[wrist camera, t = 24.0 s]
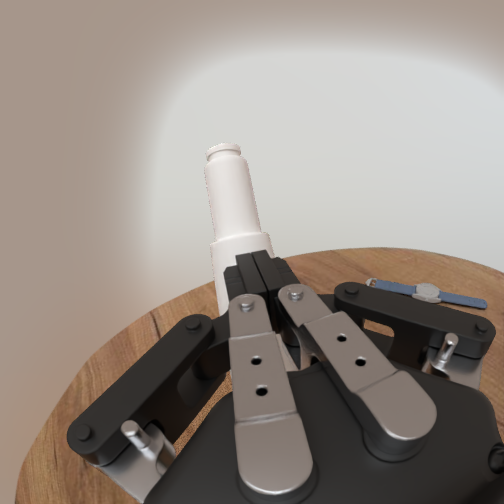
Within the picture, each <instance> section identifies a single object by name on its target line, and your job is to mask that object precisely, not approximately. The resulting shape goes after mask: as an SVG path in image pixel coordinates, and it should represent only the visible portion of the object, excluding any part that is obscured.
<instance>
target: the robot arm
mask: <svg viewBox="0 0 504 504" xmlns="http://www.w3.org/2000/svg"><path fill="white" fill-rule="evenodd" d="M235 259H236V265H234V266H229V267H226V269H225V271H224V272H223V275H224V280H225V285H226V290H227V295H228V300H229V305H228V310H227V311H226V312H225V313H224V314H223V315H221V316H220V317H218V318H216V319H213V320H211V318H210V317H208V316H206V315H202V314H194V315H190V316H187V317H185V318H183V319H181V320H180V321H179V322H178V323H177V324H176V325H175V326H174V327H173V328H172V329H171V330H170V331H169V332H167V333H166V334H165V335H164V336H163V337H162V338H161V339H160V340H159V341H158V342H157V343H156V344H155V345H154V346H153V347H152V348H151V349H150V350H148V351H147V352H146V353H145V354H144V355H143V356H142V357H141V358H140V359H139V360H138V361H137V362H136V363H135V364H134V365H133V366H132V367H131V368H129V369H128V370H127V371H126V372H125V373H124V374H123V375H122V376H121V377H120V378H119V379H118V380H117V381H116V382H115V383H114V384H113V385H111V386H110V387H109V388H108V389H107V390H106V391H105V392H104V393H103V394H102V395H101V396H100V397H99V398H98V399H97V400H96V401H95V402H94V403H92V404H91V405H90V406H89V407H88V408H87V409H86V410H85V411H84V412H83V413H82V414H81V415H80V416H79V417H78V418H77V419H76V420H74V421H73V423H72V424H71V425H70V426H69V428H68V431H67V442H68V444H69V446H70V448H71V449H72V450H73V451H75V452H76V453H77V454H79V455H80V456H81V457H82V458H84V459H85V460H86V461H87V462H88V463H89V464H90V465H92V466H93V467H94V468H96V469H97V470H99V471H100V472H102V473H103V474H105V475H106V476H108V477H110V478H111V479H112V480H113V481H114V482H115V483H116V484H117V485H119V486H120V487H121V488H122V489H123V490H125V491H126V492H127V493H128V494H129V495H131V496H132V497H133V498H134V499H136V500H137V501H138V502H140V503H141V504H504V444H503V442H502V440H501V437H500V434H499V431H498V428H497V423H496V418H495V412H494V409H493V406H492V404H491V402H490V401H489V399H488V398H487V397H486V396H485V395H484V394H483V393H482V392H480V391H479V386H480V379H481V371H482V362H483V358H484V356H485V355H486V353H487V351H488V349H489V347H490V345H491V343H492V341H493V339H494V337H495V335H496V330H495V327H494V325H493V324H492V323H491V322H490V321H489V320H488V319H486V318H484V317H481V316H477V315H473V314H470V313H466V312H462V311H459V310H455V309H451V308H448V307H444V306H440V305H437V304H433V303H429V302H426V301H422V300H418V299H415V298H411V297H408V296H404V295H400V294H397V293H393V292H389V291H386V290H382V289H378V288H375V287H371V286H368V285H364V284H360V283H356V282H345V283H341V284H339V285H338V286H337V287H336V288H335V290H334V294H325V295H320V294H316V293H315V292H314V291H313V290H312V289H311V288H310V287H309V286H307V285H303V284H301V283H300V282H299V280H298V279H297V277H296V276H295V275H294V273H293V272H292V270H291V269H290V267H289V266H288V264H287V263H286V261H285V260H283V259H281V258H279V257H276V258H270V256H269V254H268V252H267V251H266V249H265V250H260V251H255V252H251V253H244V254H239V255H235ZM365 319H367V320H370V321H373V322H376V323H380V324H383V325H386V326H389V327H390V328H392V329H393V331H394V337H389V336H386V335H383V334H380V333H377V332H374V331H371V330H368V329H365V328H364V322H365ZM276 334H280V336H281V341H282V348H283V350H284V352H285V354H286V355H287V357H288V359H289V361H290V363H291V365H292V367H293V369H294V370H295V371H286V369H285V365H284V362H283V358H282V354H281V351H280V347H279V344H278V340H277V336H276ZM230 370H231V378H232V390H233V391H232V392H230V393H228V394H227V395H225V396H224V397H223V398H222V399H220V400H219V401H218V402H217V403H216V404H215V405H214V407H213V408H212V409H211V410H210V412H209V413H208V415H207V416H206V418H205V419H204V420H203V422H202V423H201V425H200V426H199V427H198V429H197V430H196V432H195V433H194V434H193V436H192V437H191V438H190V440H189V441H188V443H187V444H186V445H185V447H184V448H183V449H182V451H181V452H180V453H179V455H178V456H177V457H176V459H175V456H176V452H175V448H174V446H173V444H174V443H175V442H176V440H177V439H178V438H179V437H180V436H181V434H182V433H183V432H184V431H185V429H186V428H187V427H188V426H189V424H190V423H191V422H192V421H193V419H194V418H195V417H196V416H197V414H198V413H199V412H200V411H201V409H202V408H203V407H204V406H205V404H206V403H207V402H208V400H209V399H210V398H211V397H212V395H213V394H214V393H215V391H216V390H217V389H218V387H219V386H220V385H221V383H222V382H223V381H224V379H225V377H226V372H228V371H230Z"/></svg>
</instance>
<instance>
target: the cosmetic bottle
mask: <svg viewBox="0 0 504 504" xmlns="http://www.w3.org/2000/svg"><path fill="white" fill-rule="evenodd" d="M240 154H241V151H240V147H239V146H238V145H237V144H233V143H224V144H219V145H215V146H213V147H211V148H210V149H208V150H207V152H206V156H207V160H208V161H209V162H208V163H207V165H206V167H205V178H206V184H207V190H208V196H209V202H210V208H211V214H212V220H213V225H214V231H215V236H216V241H215V242H213V243H212V244H211V245H210V248H211V256H212V265H213V272H214V280H215V287H216V294H217V300H218V307H219V313H220V316H221V315H223V314H224V313H225V312H226V311H227V310H228V305H229V300H228V295H227V290H226V285H225V280H224V275H223V272H224V271H225V269H226V267H229V266H234V265H236V259H235V255H239V254H244V253H251V252H255V251H260V250H265V249H266V251H267V252H268V254H269V256H270V258H275V257H274V253H273V249H272V245H271V241H270V238H269V234H268V233H265V232H263V233H262V232H261V228H260V223H259V218H258V213H257V208H256V203H255V198H254V193H253V188H252V183H251V178H250V174H249V169H248V164H247V162H246V160H245V159H244V158H243V157H241V156H240ZM276 336H277V340H278V344H279V347H280V351H281V354H282V358H283V362H284V365H285V369H286V371H295V370H294V369H293V367H292V365H291V363H290V361H289V359H288V357H287V355H286V354H285V352H284V350H283V348H282V341H281V336H280V334H276ZM230 374H231V370H230ZM231 379H232V378H231Z"/></svg>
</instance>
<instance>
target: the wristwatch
mask: <svg viewBox="0 0 504 504" xmlns="http://www.w3.org/2000/svg"><path fill="white" fill-rule="evenodd" d="M371 280H375V281H376V284H375V283H374V284H375V286H374V287H375V288H378V289H382V290H386V291H391V292H395V293H401V294H407V295H412V297H413V298H416V299H419V300H422V301H426V302H429V303H438V302H439V303H440V302H441V301H444V302H449V303H455V304H461V305H466V306H472V307H478V308H484V309H485V308H487V302H486V301H485V300H483V299H478V298H473V297H467V296H462V295H457V294H452V293H447V292H442V291H441V290H440V289H439V288H437V287H436V286H435V285H433V284H430V283H421V284H418V285H414V286H409V285H404V284H399V283H396V282H394V283H393V282H391V281H383V280H378V279H375V278H370V279H369V280H367V281H366V282H365V283H366V285H368V286H369V285H370V283H371ZM372 283H373V282H372ZM371 287H373V286H371Z"/></svg>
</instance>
